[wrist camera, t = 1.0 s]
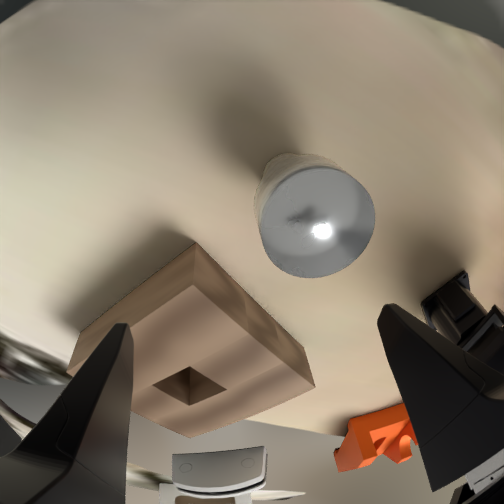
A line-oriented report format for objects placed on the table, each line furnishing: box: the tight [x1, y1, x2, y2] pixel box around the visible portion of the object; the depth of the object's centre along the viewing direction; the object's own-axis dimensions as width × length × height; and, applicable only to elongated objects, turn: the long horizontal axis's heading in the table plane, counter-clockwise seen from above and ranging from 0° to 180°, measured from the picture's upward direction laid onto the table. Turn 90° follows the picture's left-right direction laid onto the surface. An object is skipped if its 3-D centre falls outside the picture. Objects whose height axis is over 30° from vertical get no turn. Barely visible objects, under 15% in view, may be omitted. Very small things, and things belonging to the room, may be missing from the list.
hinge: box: [172, 446, 268, 498], centre depth 41 cm, size 17×5×10 cm, turn 99°
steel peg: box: [254, 153, 375, 278], centre depth 17 cm, size 6×6×8 cm
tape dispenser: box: [333, 403, 418, 472], centre depth 44 cm, size 18×13×8 cm
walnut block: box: [67, 242, 316, 438], centre depth 26 cm, size 16×16×5 cm
